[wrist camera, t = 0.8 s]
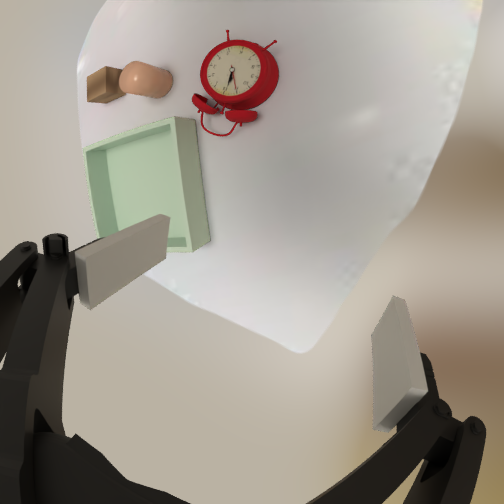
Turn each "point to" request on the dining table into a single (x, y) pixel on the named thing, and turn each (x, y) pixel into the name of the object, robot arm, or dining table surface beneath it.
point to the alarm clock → (237, 80)
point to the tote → (149, 182)
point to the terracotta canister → (145, 80)
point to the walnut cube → (104, 85)
